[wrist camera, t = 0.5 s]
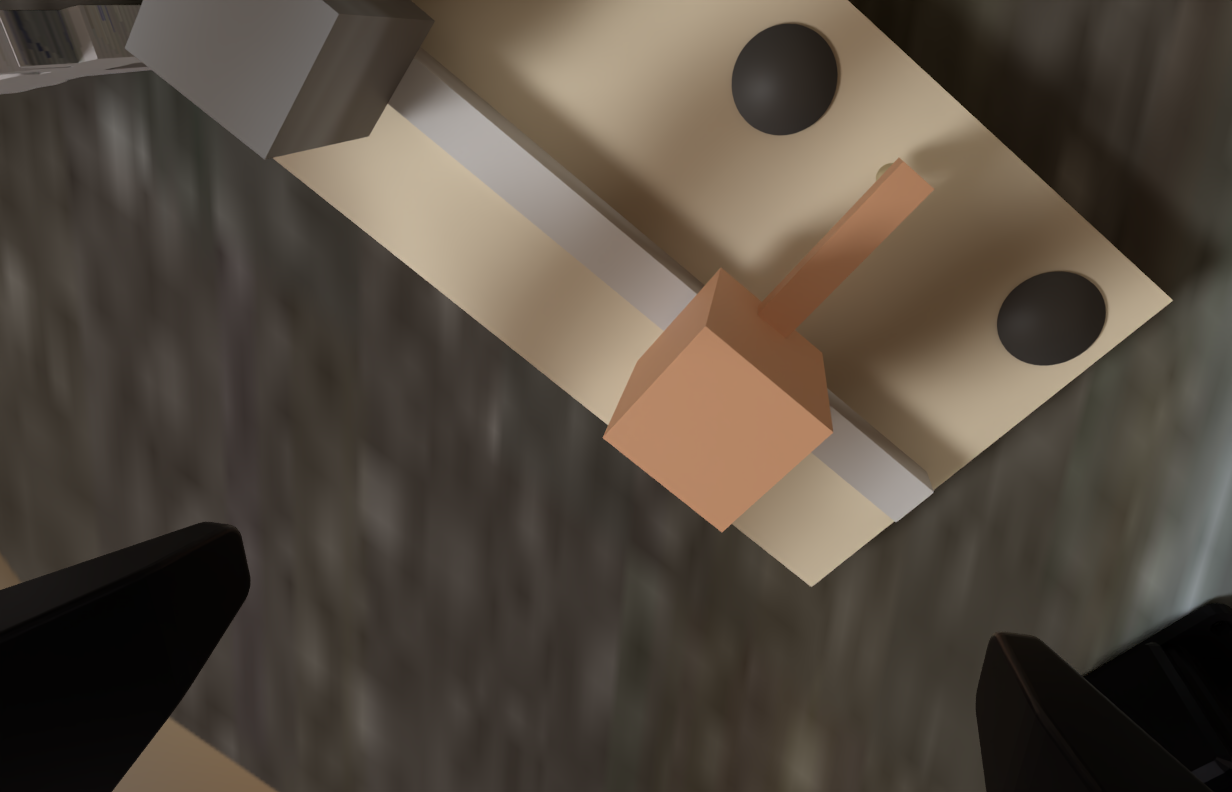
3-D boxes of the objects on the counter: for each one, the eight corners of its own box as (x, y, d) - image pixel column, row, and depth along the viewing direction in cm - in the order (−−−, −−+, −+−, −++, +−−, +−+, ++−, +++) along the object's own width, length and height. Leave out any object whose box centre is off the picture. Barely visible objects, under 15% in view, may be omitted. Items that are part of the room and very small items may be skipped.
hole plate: (1143, 281, 18) (1315, 392, 12) (809, 555, 23) (819, 728, 17) (501, -310, 16) (341, -516, 10) (277, 128, 21) (81, 161, 15)
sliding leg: (957, 209, 16) (1018, 266, 12) (734, 426, 19) (722, 532, 15) (851, 113, 16) (877, 138, 12) (641, 351, 19) (602, 437, 15)
